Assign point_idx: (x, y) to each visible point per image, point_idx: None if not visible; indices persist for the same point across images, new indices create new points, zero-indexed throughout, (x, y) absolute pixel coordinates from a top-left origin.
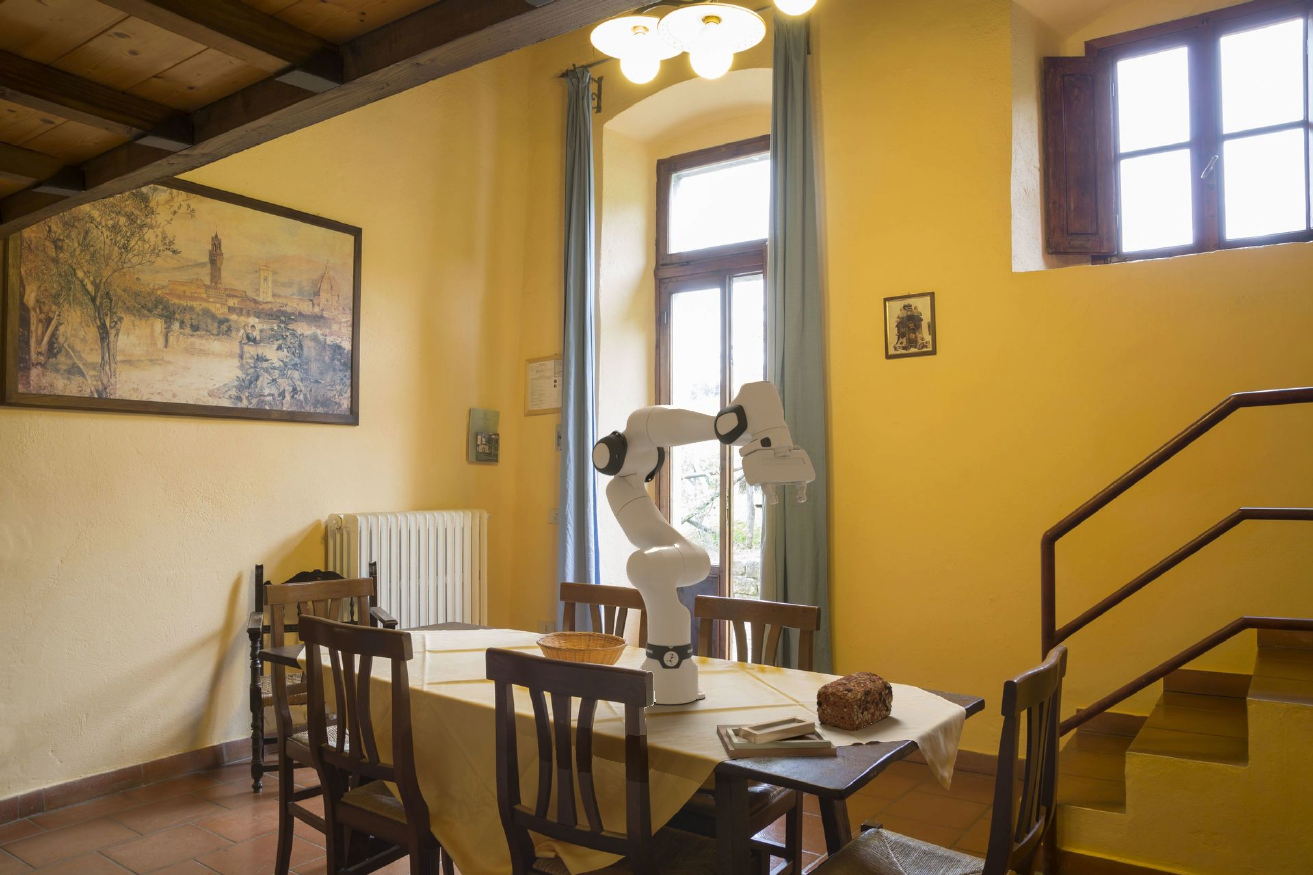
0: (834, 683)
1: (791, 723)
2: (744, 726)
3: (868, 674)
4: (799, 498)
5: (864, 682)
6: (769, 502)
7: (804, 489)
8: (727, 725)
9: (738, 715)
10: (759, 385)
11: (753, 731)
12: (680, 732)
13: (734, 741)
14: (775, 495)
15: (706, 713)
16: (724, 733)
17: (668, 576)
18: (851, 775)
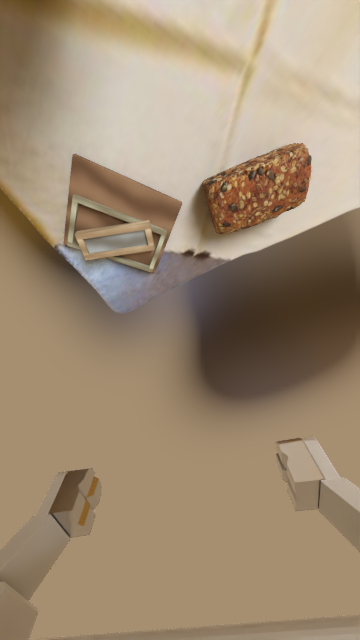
0: (230, 196)
1: (138, 232)
2: (81, 234)
3: (295, 187)
4: (286, 470)
5: (258, 215)
6: (55, 482)
7: (352, 540)
8: (85, 164)
9: (131, 83)
10: None
11: (84, 251)
12: (25, 131)
13: (68, 241)
14: (76, 532)
15: (85, 35)
16: (72, 193)
17: None
18: (139, 302)
